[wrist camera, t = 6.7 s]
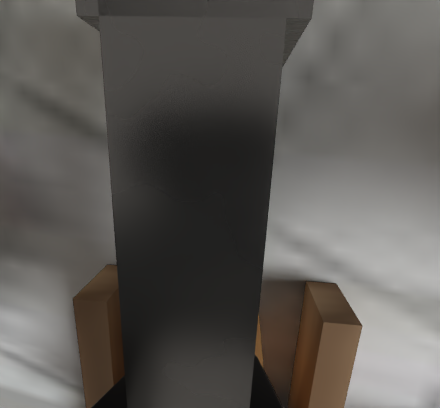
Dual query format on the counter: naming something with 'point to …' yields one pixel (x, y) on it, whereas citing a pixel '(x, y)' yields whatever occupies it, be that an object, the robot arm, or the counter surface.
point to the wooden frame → (304, 357)
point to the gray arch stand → (191, 185)
